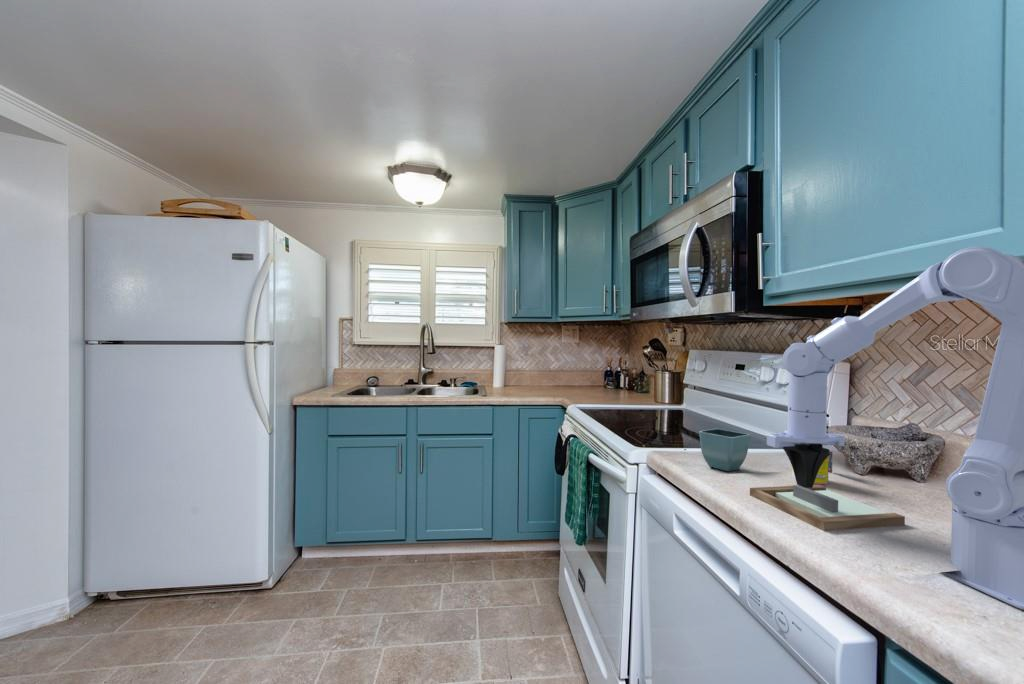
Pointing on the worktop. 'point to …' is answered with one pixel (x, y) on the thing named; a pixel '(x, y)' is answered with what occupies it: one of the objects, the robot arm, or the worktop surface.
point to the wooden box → (825, 522)
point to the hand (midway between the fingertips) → (804, 486)
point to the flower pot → (724, 448)
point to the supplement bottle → (820, 472)
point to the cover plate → (825, 503)
